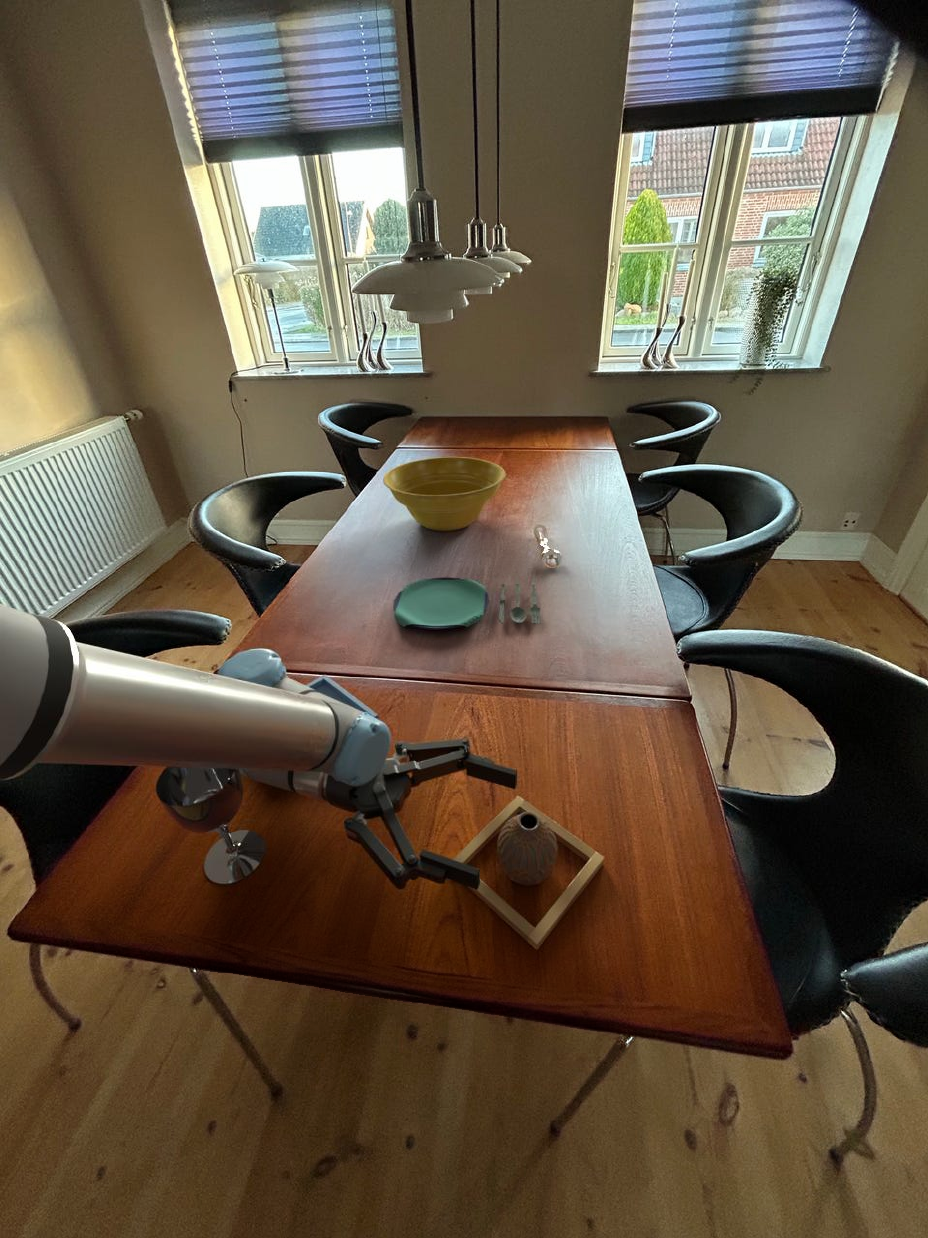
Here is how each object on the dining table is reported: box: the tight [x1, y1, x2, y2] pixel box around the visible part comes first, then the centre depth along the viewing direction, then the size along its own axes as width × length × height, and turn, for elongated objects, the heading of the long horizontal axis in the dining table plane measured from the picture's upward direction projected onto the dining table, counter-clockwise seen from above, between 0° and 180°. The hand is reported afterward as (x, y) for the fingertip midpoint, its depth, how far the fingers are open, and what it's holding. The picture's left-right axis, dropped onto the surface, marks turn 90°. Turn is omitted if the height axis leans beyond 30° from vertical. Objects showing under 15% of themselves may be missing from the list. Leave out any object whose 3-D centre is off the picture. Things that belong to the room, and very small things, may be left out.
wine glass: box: [155, 767, 266, 885], centre depth 61 cm, size 8×8×15 cm
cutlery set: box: [393, 576, 541, 631], centre depth 109 cm, size 20×30×2 cm, turn 86°
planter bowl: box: [382, 456, 506, 532], centre depth 143 cm, size 32×32×13 cm
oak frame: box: [452, 795, 605, 950], centre depth 62 cm, size 13×13×1 cm
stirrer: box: [533, 524, 563, 568], centre depth 130 cm, size 20×4×5 cm
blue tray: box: [305, 674, 380, 720], centre depth 82 cm, size 17×15×2 cm
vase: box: [496, 812, 559, 886], centre depth 60 cm, size 7×7×9 cm
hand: (499, 825), depth 60 cm, fingers open, 13 cm apart
